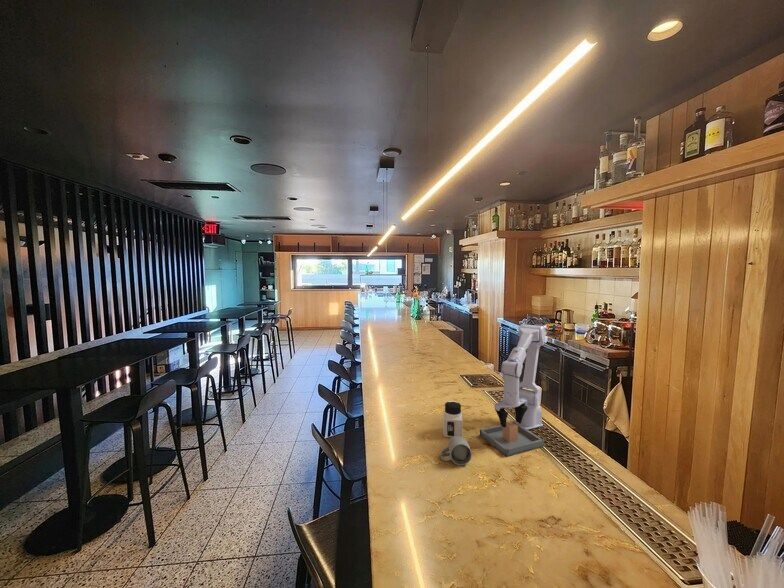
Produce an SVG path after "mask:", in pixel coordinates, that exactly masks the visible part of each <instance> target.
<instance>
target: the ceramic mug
mask: <svg viewBox="0 0 784 588" xmlns="http://www.w3.org/2000/svg"><path fill="white" fill-rule="evenodd" d="M447 453H448V455H446V456H444V455H445V454H447ZM472 455H473V452H472V450H471V448H470V445H469V443H468V441H467V439H466V438H465V437H462V436H459V435H456V436H453V437H450V439H449V440H448V447H446V448H444V449H442V450H441V451H440V454H439V457H440V459H441V460H442V461H444V462H448V461H451V462H453V464H455V465H456V466H465V465H467V464H469V462H470V461H471V460H472V457H473V456H472Z"/></svg>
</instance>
